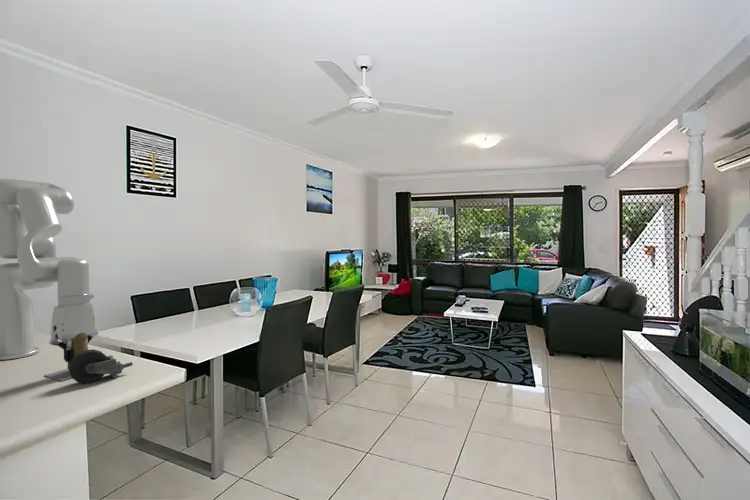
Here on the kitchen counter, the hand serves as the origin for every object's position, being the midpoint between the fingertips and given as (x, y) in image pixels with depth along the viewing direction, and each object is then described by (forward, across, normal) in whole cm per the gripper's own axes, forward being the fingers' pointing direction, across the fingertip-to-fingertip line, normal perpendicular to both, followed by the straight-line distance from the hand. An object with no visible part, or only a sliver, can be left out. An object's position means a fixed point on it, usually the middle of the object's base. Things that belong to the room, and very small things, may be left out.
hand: (75, 360), depth 117 cm
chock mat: (+4, 0, -1) cm, 4 cm away
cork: (+2, -1, 0) cm, 3 cm away
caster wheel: (+4, -1, +12) cm, 13 cm away
